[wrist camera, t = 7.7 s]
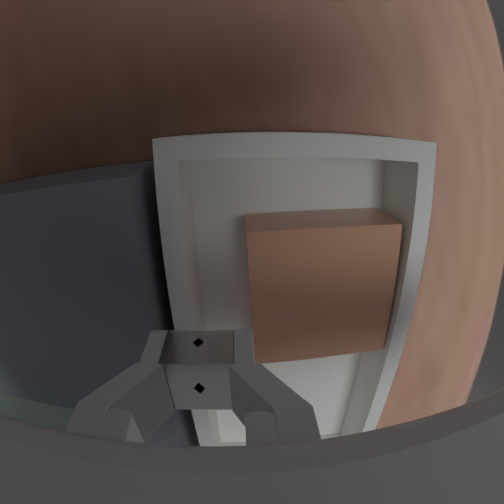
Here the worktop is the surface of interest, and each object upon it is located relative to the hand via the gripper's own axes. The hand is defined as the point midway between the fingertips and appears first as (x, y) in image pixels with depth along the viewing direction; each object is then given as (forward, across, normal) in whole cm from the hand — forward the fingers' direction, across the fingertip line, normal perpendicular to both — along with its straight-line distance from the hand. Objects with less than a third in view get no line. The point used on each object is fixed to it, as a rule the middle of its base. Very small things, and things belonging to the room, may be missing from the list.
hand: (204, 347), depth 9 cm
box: (+6, -4, +4) cm, 8 cm away
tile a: (+3, -5, 0) cm, 6 cm away
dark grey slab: (+6, +8, +4) cm, 11 cm away
